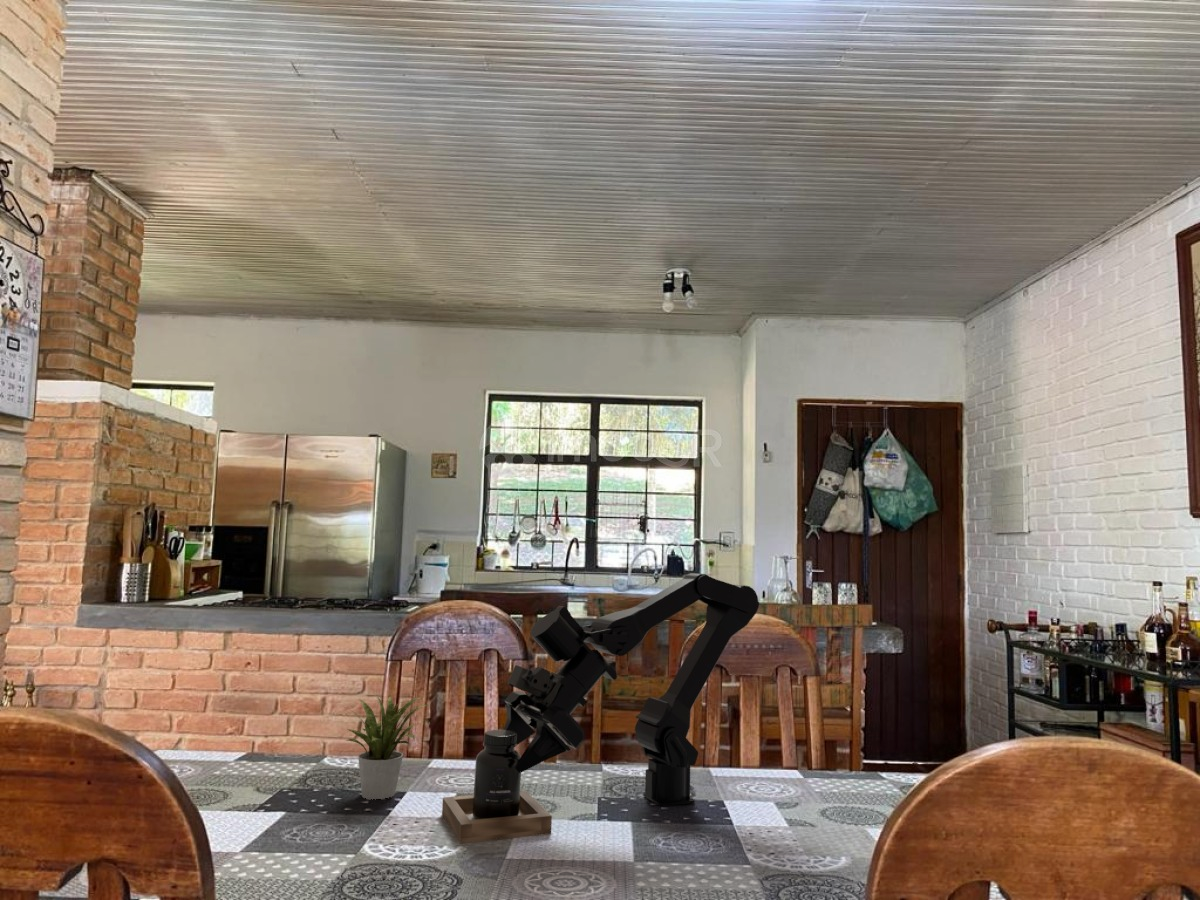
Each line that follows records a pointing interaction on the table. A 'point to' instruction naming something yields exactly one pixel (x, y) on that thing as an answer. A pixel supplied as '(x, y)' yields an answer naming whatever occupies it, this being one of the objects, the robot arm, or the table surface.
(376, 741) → the house plant
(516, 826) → the holder
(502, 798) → the supplement bottle
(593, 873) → the table surface
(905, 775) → the table surface
